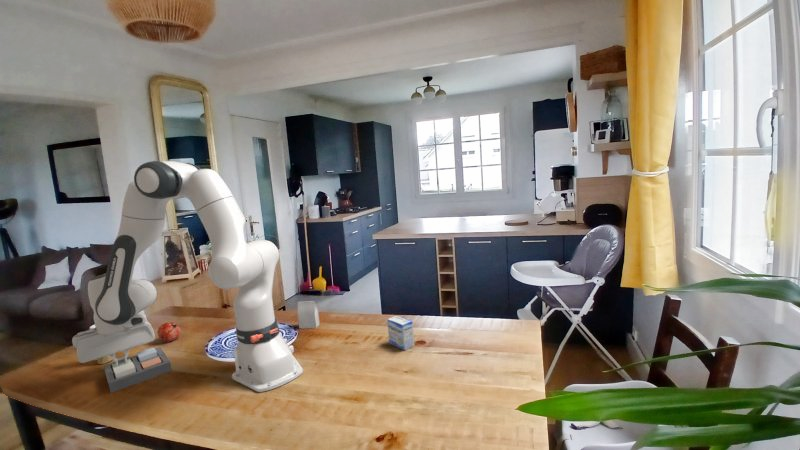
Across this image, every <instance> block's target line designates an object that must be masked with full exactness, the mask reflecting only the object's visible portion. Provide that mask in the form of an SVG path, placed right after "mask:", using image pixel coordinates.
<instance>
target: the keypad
mask: <svg viewBox="0 0 800 450" xmlns="http://www.w3.org/2000/svg"><path fill="white" fill-rule="evenodd" d="M155 350H156V351H157V355H158V356H156V357H153V358H150V359H147V360H144V361H141V362H139V360H138V357H137V354H134V355H132V356H130V357H127V359H131V361H132V362H133V364H134V366H135V369H136V372H135V373H132V374H129V375H126V376H123V377H120V378H118V379H116V377H115V373H114V371H113V368H112V364H115V363H116V362H115V361H113V362H111V363H106V364H105V365H104V364H103V368H104V373H105V377H106V381H107V385H108V388H109V391H110V394H112V393H115V392H118V391H121V390H123V389H126V388H129V387H131V386H134V385H137V384H140V383H143V382H144V381H148V380H151V379H154V378H156V377H159V376H161V375H164V374H167V373H169V372H172V371H173V369H172V363H171V361H170V359H169V358H168V356H167V355H166V353H165V352H164V350H163V349H162V347H156V348H155ZM157 357H159V358H160V360H161V361H162V363H160V364H157V365H154V366H152V367H149V368H146V369H143V370H142V366H141V363H142V362H145V361H148V360H151V359H154V358H157ZM158 375H159V376H158Z"/></svg>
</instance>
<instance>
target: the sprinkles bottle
mask: <svg viewBox="0 0 800 450" xmlns="http://www.w3.org/2000/svg"><path fill="white" fill-rule="evenodd" d="M94 328H96V327H95V324H93V325H91V326H89V330H90V329H94ZM111 361H114V360H113V359H111V358H110V355H108V356H104V357H101V358H98V359H97V364H99V365H104V364H108V363H109V362H111Z"/></svg>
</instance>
